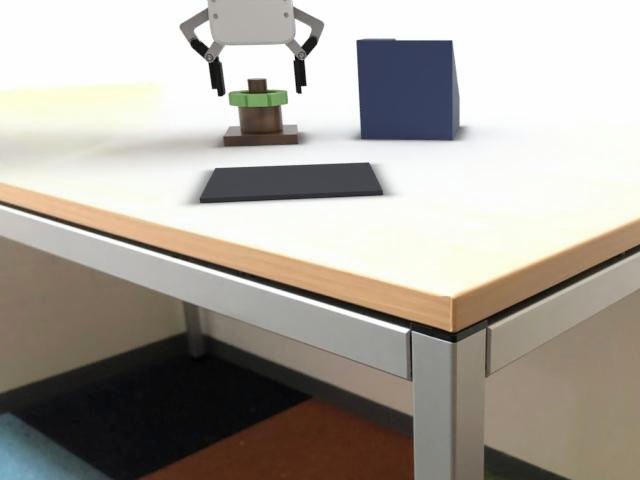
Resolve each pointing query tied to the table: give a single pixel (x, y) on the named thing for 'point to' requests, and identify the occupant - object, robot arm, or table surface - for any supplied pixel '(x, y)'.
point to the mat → (291, 182)
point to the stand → (260, 123)
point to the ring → (258, 98)
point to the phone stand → (407, 89)
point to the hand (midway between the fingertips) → (260, 94)
